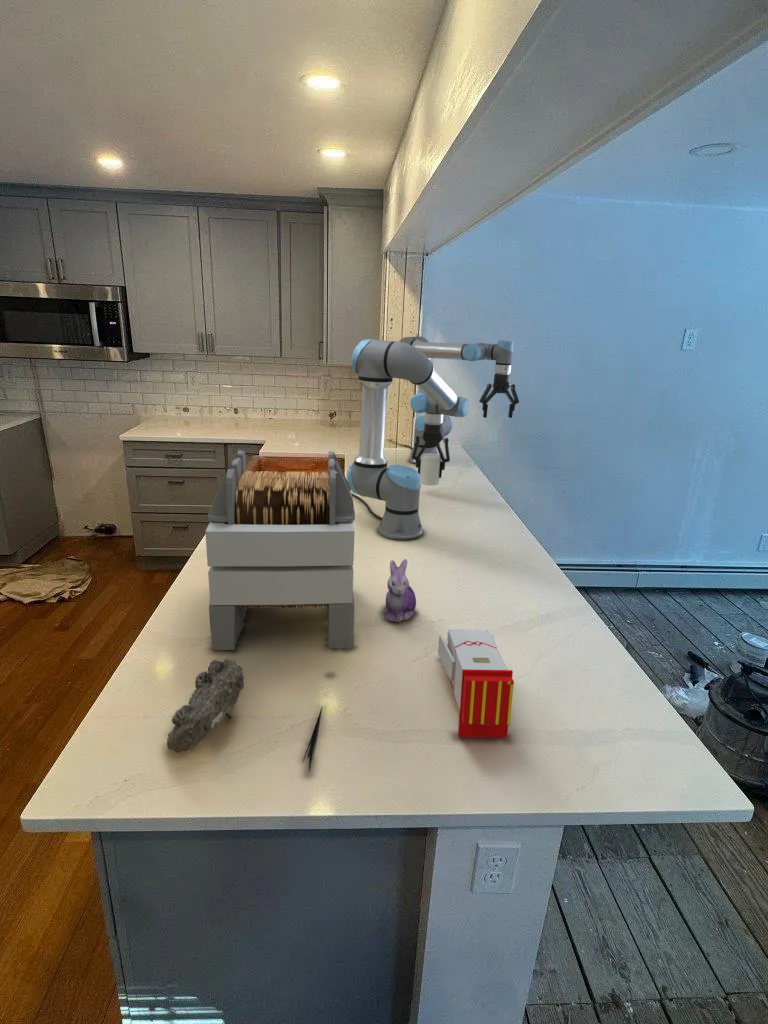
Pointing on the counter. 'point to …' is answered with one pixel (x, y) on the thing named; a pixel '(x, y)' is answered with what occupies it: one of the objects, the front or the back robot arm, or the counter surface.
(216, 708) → the fossil
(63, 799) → the counter surface
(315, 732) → the feather
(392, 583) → the figurine
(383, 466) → the front robot arm
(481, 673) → the toy
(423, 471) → the can
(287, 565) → the record crate
